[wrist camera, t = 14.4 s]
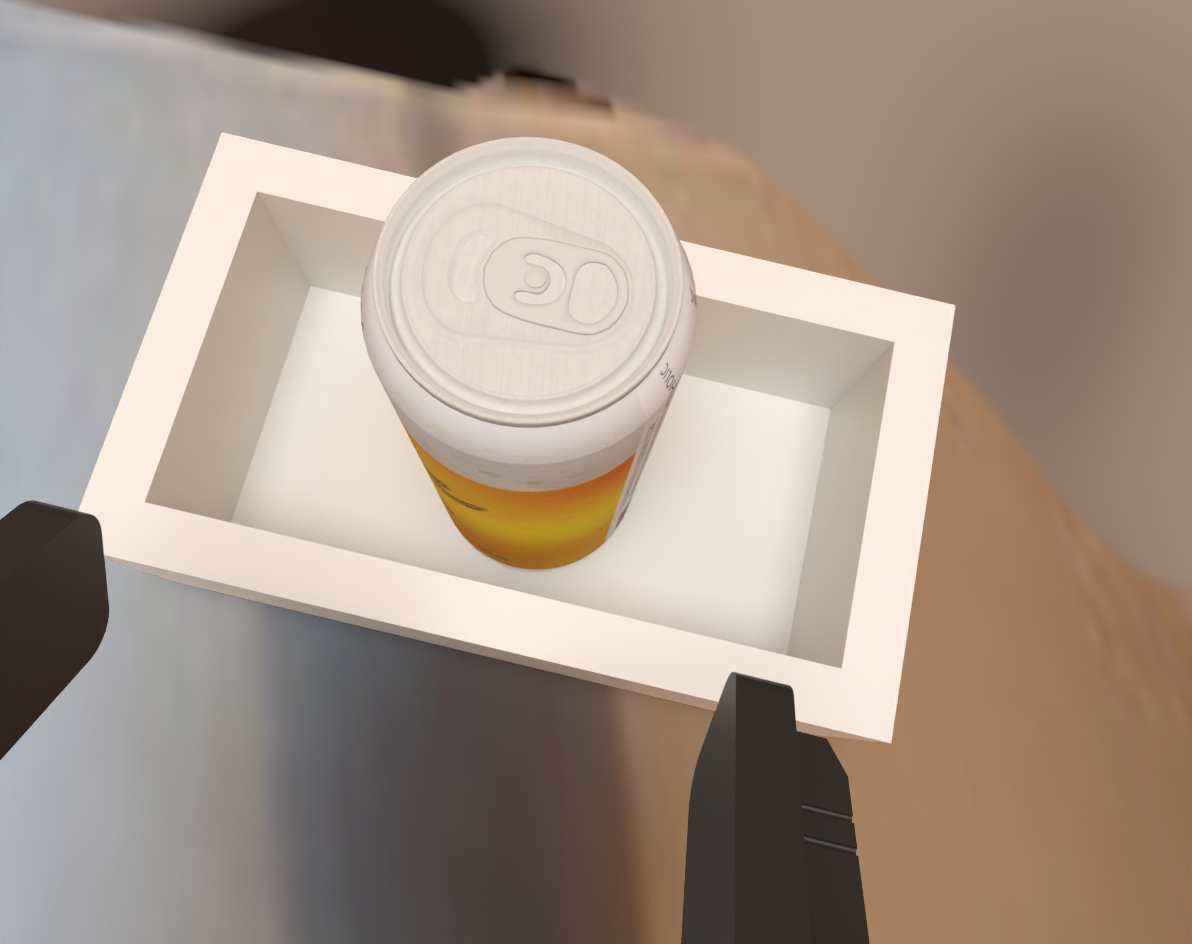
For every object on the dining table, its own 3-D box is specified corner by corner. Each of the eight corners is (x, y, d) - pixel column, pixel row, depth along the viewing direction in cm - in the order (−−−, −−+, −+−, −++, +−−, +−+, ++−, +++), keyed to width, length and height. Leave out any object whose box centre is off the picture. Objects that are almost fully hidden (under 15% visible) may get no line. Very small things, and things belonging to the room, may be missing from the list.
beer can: (470, 372, 31) (404, 82, 17) (649, 414, 31) (738, 160, 17) (421, 548, 30) (300, 397, 15) (608, 592, 30) (667, 484, 15)
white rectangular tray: (871, 388, 33) (955, 305, 26) (813, 734, 30) (891, 743, 23) (288, 250, 33) (222, 132, 26) (174, 581, 30) (65, 545, 23)
